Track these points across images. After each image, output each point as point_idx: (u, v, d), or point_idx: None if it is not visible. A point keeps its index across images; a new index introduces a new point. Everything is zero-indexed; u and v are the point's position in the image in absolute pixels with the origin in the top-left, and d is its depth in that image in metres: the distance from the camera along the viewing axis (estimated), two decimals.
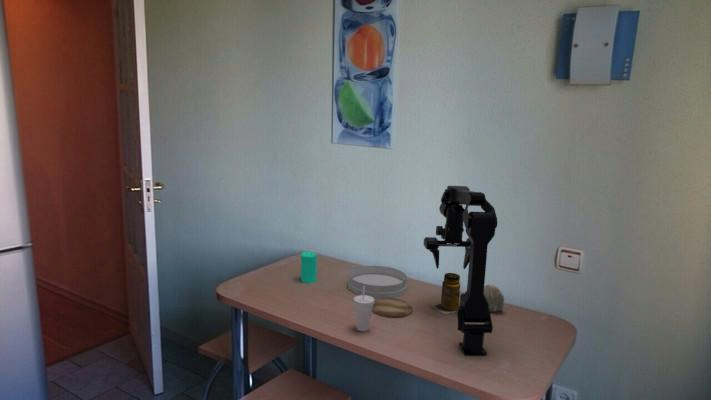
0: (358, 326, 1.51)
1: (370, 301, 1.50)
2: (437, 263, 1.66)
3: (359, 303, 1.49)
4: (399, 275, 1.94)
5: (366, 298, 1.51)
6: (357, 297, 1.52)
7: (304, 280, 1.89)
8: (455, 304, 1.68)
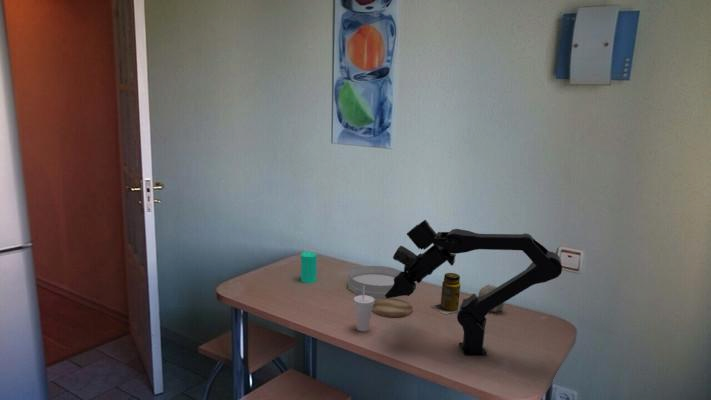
0: (358, 326, 1.51)
1: (370, 301, 1.50)
2: (393, 296, 1.42)
3: (359, 303, 1.49)
4: None
5: (366, 298, 1.51)
6: (357, 297, 1.52)
7: (304, 280, 1.89)
8: (455, 304, 1.68)
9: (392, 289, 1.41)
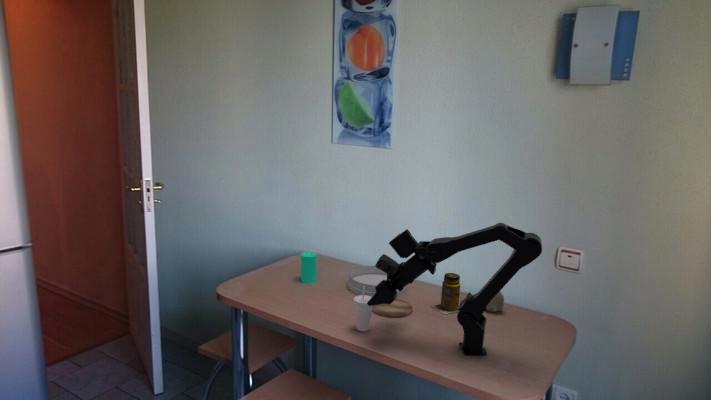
0: (358, 326, 1.51)
1: None
2: None
3: (359, 303, 1.49)
4: None
5: (366, 298, 1.51)
6: (357, 297, 1.52)
7: (304, 280, 1.89)
8: (455, 304, 1.68)
9: (374, 297, 1.44)
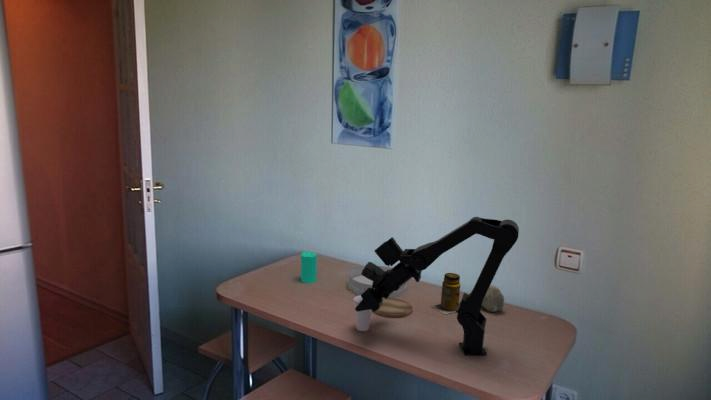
0: (358, 326, 1.51)
1: None
2: None
3: None
4: None
5: None
6: (357, 297, 1.52)
7: (304, 280, 1.89)
8: (455, 304, 1.68)
9: (361, 303, 1.47)
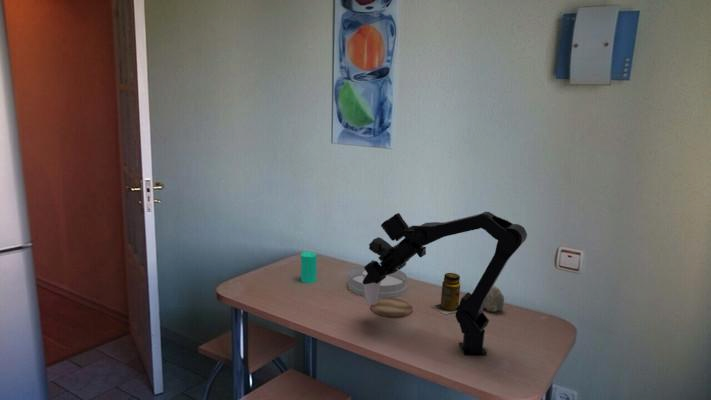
0: (366, 299, 1.56)
1: None
2: (369, 283, 1.53)
3: None
4: (399, 275, 1.94)
5: None
6: None
7: (304, 280, 1.89)
8: (455, 304, 1.68)
9: (367, 276, 1.52)
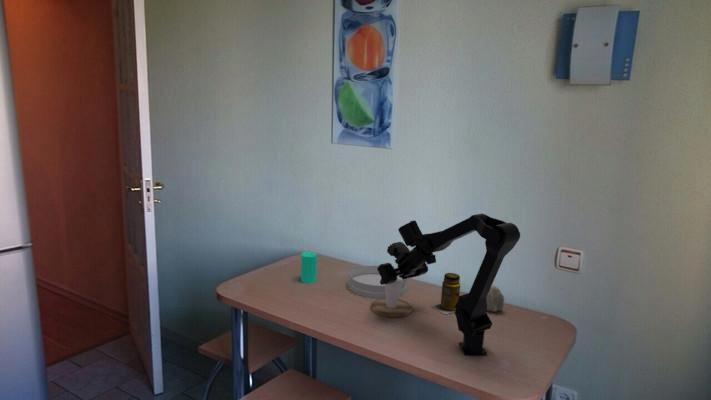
0: (386, 302, 1.68)
1: (396, 281, 1.64)
2: None
3: None
4: (399, 275, 1.94)
5: None
6: None
7: (304, 280, 1.89)
8: (455, 304, 1.68)
9: None
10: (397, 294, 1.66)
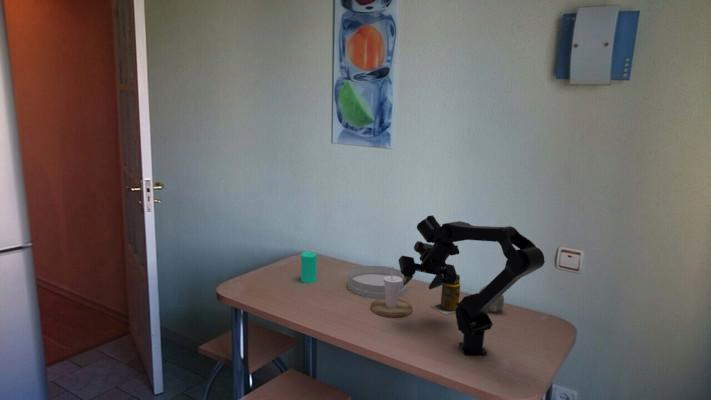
0: (386, 302, 1.68)
1: (395, 281, 1.64)
2: (406, 282, 1.56)
3: (385, 281, 1.65)
4: (399, 275, 1.94)
5: (395, 278, 1.66)
6: (389, 276, 1.68)
7: (304, 280, 1.89)
8: (455, 304, 1.68)
9: None
10: (397, 294, 1.66)
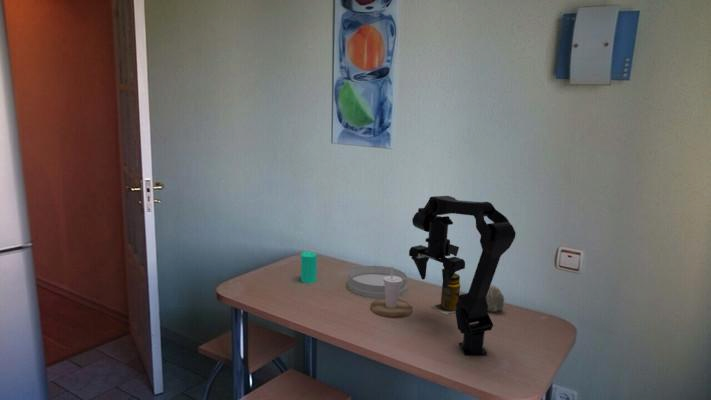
0: (386, 302, 1.68)
1: (395, 281, 1.64)
2: (420, 273, 1.60)
3: (385, 281, 1.65)
4: (399, 275, 1.94)
5: (395, 278, 1.66)
6: (389, 276, 1.68)
7: (304, 280, 1.89)
8: (455, 304, 1.68)
9: None
10: (397, 294, 1.66)
